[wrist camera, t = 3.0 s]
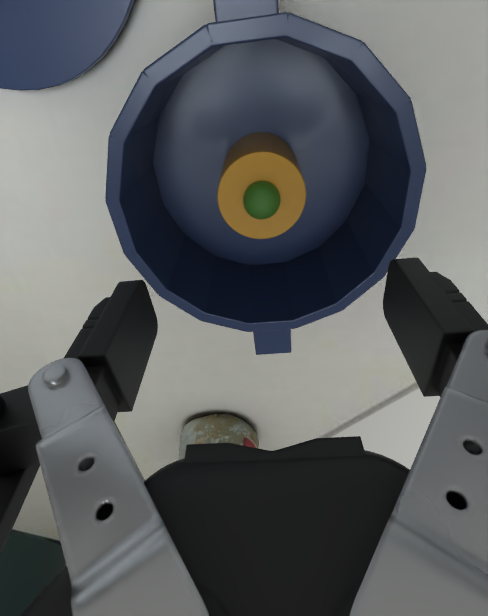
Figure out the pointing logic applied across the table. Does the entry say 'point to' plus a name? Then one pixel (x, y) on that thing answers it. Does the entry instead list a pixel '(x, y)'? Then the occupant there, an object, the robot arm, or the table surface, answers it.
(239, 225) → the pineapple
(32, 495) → the table surface
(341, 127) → the pot
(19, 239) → the table surface
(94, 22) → the pot lid
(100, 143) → the table surface
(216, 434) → the bottle
